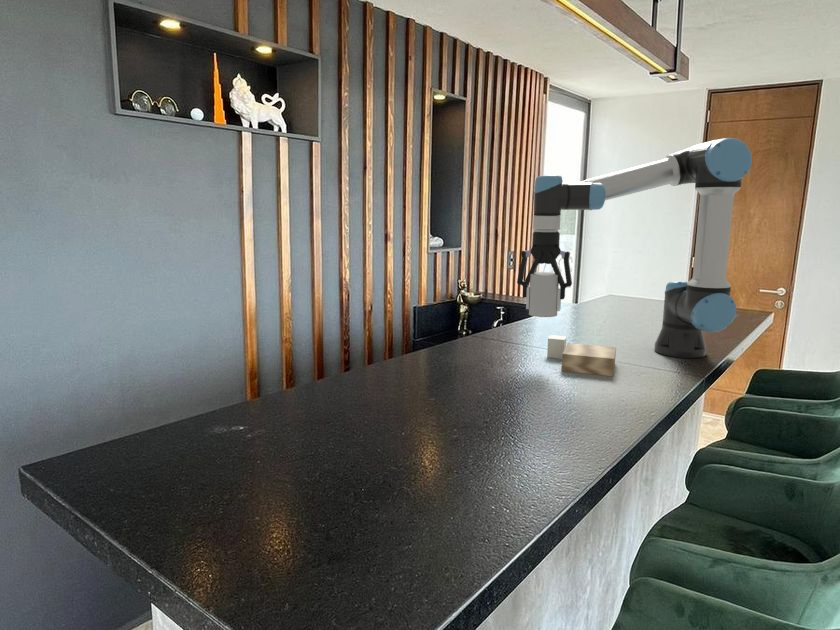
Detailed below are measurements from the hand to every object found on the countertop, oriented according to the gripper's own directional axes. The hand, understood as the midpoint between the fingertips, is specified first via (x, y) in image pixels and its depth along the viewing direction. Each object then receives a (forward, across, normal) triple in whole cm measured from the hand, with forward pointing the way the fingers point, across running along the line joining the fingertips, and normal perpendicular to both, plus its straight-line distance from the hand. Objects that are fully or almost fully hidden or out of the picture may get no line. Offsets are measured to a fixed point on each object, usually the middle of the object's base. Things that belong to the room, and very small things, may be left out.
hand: (543, 309), depth 170 cm
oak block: (+16, -14, -1) cm, 21 cm away
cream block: (+16, -3, -10) cm, 20 cm away
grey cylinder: (+2, 0, 0) cm, 2 cm away
